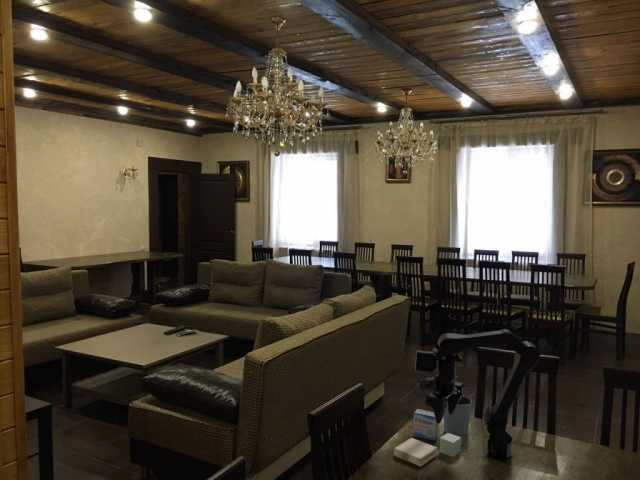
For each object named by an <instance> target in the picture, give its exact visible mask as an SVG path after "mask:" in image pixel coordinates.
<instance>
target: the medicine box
mask: <svg viewBox="0 0 640 480" xmlns="http://www.w3.org/2000/svg"><path fill="white" fill-rule="evenodd" d="M412 427H413V428H412V429H413V432H412V436H413V437H416V438H421V439H424V440H425V439H426V440H429V441H435V440H436V439H437V438H438V436H439V424H438V423H437V422H436V419H435V415H434V412H433V411H429V410H425V409H421V408H420V409H419V408H417V409H416V410H415V411H414V412H413V426H412Z"/></svg>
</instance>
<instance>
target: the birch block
mask: <svg viewBox="0 0 640 480" xmlns="http://www.w3.org/2000/svg"><path fill="white" fill-rule="evenodd" d="M393 450H394V451H393V452H394V453H393V455H394V456H395V457H396V458H400V459H401V460H404V461H406V462H409V463H411V464H414V465H415V466H418V467H422V466H424V465H425V464H426V463H428V462H429V461H430V460H432V459H433V458H436V456H438V447H436V446H434V445H431V444H429V443H426V442H424V441H422V440H418V439H416V438H413V437H411V438H408V439H407V440H405V441H404V442H402V443H400V444H399V445H397V446H396V447H394V449H393Z"/></svg>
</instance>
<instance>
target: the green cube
mask: <svg viewBox="0 0 640 480" xmlns="http://www.w3.org/2000/svg"><path fill="white" fill-rule="evenodd" d="M461 451H462V437H458V436H455V435H453V434H450V433H447V434H446V433H445V434H443V435H442V436H440V438H439V453H441V454H444V455H447V456H449V457H452V458H454V457H456V456H457V455H458V454H460V453H461Z"/></svg>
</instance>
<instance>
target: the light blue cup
mask: <svg viewBox="0 0 640 480" xmlns="http://www.w3.org/2000/svg"><path fill="white" fill-rule="evenodd" d="M446 405H447V408H446V410H445V413H444V415H443V431H444V433H445V434H447V433H450V434H453V435H455V436H458V437H461V438H462V437H466V436H468V434H469V425H470V421H471V420H470V419H471V413H472V406H473V400H472V399H471V398H470V397H468V396H466V395H463V396H462V397H461V399H460V401H459V403H458V404H457V406H456V408H455V410H454V412H453V414H452V415H451V414H449V411H448V398H447V404H446Z"/></svg>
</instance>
